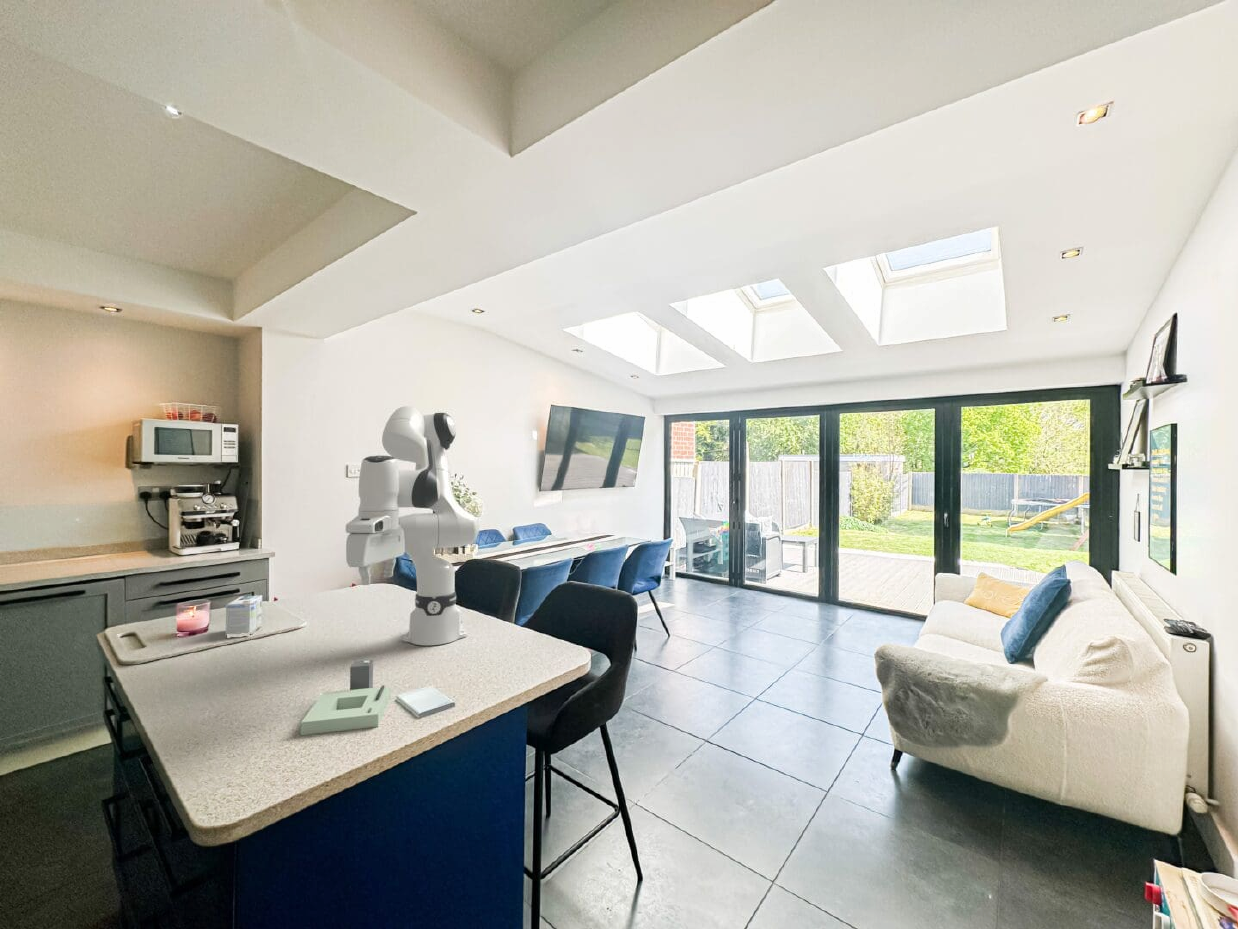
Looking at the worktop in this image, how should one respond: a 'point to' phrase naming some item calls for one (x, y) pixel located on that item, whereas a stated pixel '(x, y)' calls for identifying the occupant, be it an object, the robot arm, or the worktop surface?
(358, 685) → the plug
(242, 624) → the light bulb box
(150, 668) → the worktop surface
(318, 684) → the worktop surface
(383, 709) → the outlet plate
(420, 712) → the hard drive
